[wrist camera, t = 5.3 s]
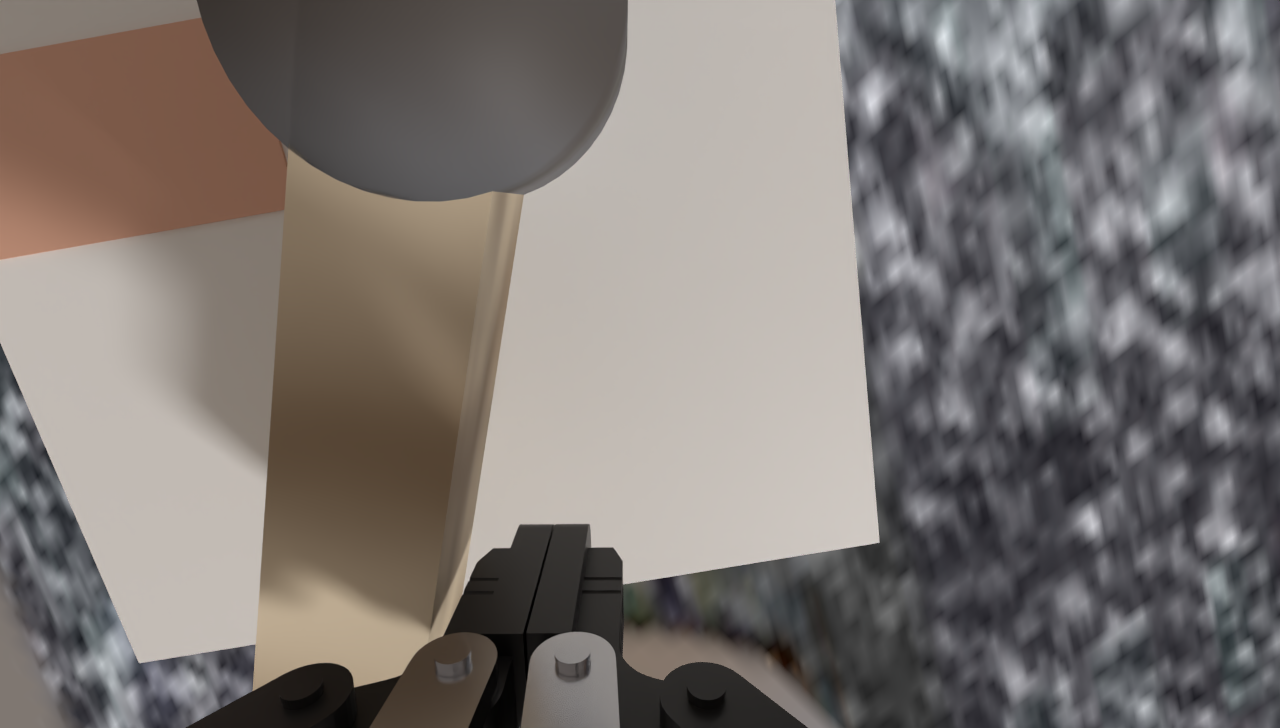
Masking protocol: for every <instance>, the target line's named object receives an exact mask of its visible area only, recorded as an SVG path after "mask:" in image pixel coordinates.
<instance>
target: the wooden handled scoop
mask: <svg viewBox="0 0 1280 728" xmlns="http://www.w3.org/2000/svg"><path fill="white" fill-rule="evenodd" d="M197 4H198V7H199V11H200V15H201V18H202V22H203V24H204V27H205V30H206V32H207V35H208V37H209V40H210V42H211V45H212V47H213V50H214V52H215V54H216V56H217V58H218V60H219V62H220V63H221V65H222V67H223V69H224V71H225V73H226V75H227V77H228V78H229V80H230V82H231V83H232V85H233V86H234V88H235V89H236V90H237V92H238V93H239V95H240V96H241V98H242V99H243V101H244V102H245V104H246V105H247V106H248V107H249V109H250V110H251V111H252V112H253V113H254V114H255V116H256V117H257V118H258V119H259V120H260V121H261V123H262V124H263V125H264V126H265V127H266V128H267V129H268V130H269V131H270V132H271V133H272V134H273V135H274V136H275V137H276V138H277V139H278V140H280V141H281V142H282V143H283V144H284V145H285V146H286V147H287V148H288V162H287V177H286V193H285V208H284V223H283V238H282V254H281V269H280V284H279V299H278V314H277V330H276V345H275V360H274V375H273V391H272V406H271V421H270V436H269V452H268V467H267V482H266V497H265V513H264V528H263V543H262V558H261V573H260V589H259V604H258V619H257V634H256V650H255V665H254V680H253V691H254V690H256V689H258V688H259V687H261V686H263V685H265V684H267V683H269V682H270V681H272V680H274V679H276V678H278V677H279V676H281V675H283V674H285V673H287V672H289V671H291V670H294V669H297V668H299V667H303V666H306V665H310V664H316V663H334V664H339V665H341V666H344V667H345V668H347V669H348V670H349V671H350V672H351V674H352V676H353V682H354V687H358V686H362V685H367V684H371V683H375V682H379V681H383V680H387V679H391V678H394V677H397V676H400V675H402V674H403V672H404V670H405V669H406V667H407V665H408V664H409V662H410V661H411V659H412V658H413V656H414V655H415V653H416V652H417V651H418V650H419V649H421V648H422V647H423V646H425V645H426V644H427V643H429V642H431V641H433V640H435V639H437V638H439V637H442V636H443V635H444V633H445V631H446V629H447V627H448V624H449V622H450V620H451V618H452V616H453V613H454V611H455V609H456V607H457V605H458V603H459V600H460V598H461V596H462V593H463V587H464V580H465V574H466V567H467V561H468V554H469V548H470V541H471V535H472V528H473V522H474V515H475V509H476V502H477V496H478V489H479V483H480V476H481V470H482V463H483V457H484V450H485V444H486V437H487V431H488V424H489V418H490V411H491V405H492V398H493V392H494V385H495V379H496V372H497V366H498V359H499V353H500V346H501V340H502V333H503V327H504V320H505V314H506V308H507V301H508V295H509V288H510V282H511V275H512V269H513V262H514V256H515V249H516V243H517V236H518V230H519V223H520V217H521V210H522V204H523V197H524V195H525V194H527V193H529V192H532V191H534V190H536V189H539V188H541V187H543V186H545V185H546V184H548V183H550V182H551V181H553V180H555V179H556V178H558V177H559V176H561V175H562V174H563V173H564V172H566V171H567V170H568V169H569V168H571V167H572V166H573V165H574V164H575V163H576V162H577V161H578V160H579V159H580V158H581V157H582V156H583V155H584V154H585V153H586V152H587V151H588V150H589V148H590V147H591V146H592V144H593V143H594V141H595V140H596V139H597V137H598V136H599V134H600V133H601V132H602V130H603V128H604V126H605V124H606V122H607V120H608V119H609V117H610V115H611V113H612V110H613V108H614V105H615V103H616V100H617V97H618V95H619V92H620V88H621V84H622V79H623V75H624V71H625V63H626V55H627V31H628V0H197Z"/></svg>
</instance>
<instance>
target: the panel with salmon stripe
mask: <svg viewBox="0 0 1280 728" xmlns="http://www.w3.org/2000/svg"><path fill="white" fill-rule="evenodd" d="M287 162H288V148H287V147H286V146H285V145H284V144H283V143H282V142H281V141H280V140H278V139H277V138H276V137H275V136H274V135H273V134H272V133H271V132H270V131H269V130H268V129H267V128H266V127H265V126H264V125H263V124H262V123H261V121H260V120H259V119H258V118H257V117H256V116H255V114H254V113H253V112H252V111H251V110H250V109H249V107H248V106H247V105H246V104H245V102H244V101H243V99H242V98H241V96H240V95H239V93H238V92H237V90H236V89H235V88H234V86H233V85H232V83H231V82H230V80H229V78H228V77H227V75H226V73H225V71H224V69H223V67H222V65H221V63H220V62H219V60H218V58H217V56H216V54H215V52H214V50H213V47H212V45H211V42H210V40H209V37H208V35H207V32H206V30H205V27H204V24H203V22H202V18H201V15H200V11H199V7H198V4H197V0H0V343H1V346H2V348H3V350H4V352H5V355H6V357H7V359H8V362H9V364H10V366H11V369H12V371H13V373H14V376H15V378H16V380H17V382H18V385H19V387H20V389H21V392H22V394H23V396H24V399H25V401H26V403H27V406H28V408H29V410H30V413H31V415H32V417H33V419H34V422H35V424H36V426H37V429H38V431H39V433H40V436H41V438H42V440H43V443H44V445H45V447H46V449H47V452H48V454H49V456H50V459H51V461H52V463H53V466H54V468H55V470H56V473H57V475H58V477H59V480H60V482H61V484H62V486H63V489H64V491H65V493H66V496H67V498H68V500H69V503H70V505H71V507H72V510H73V512H74V514H75V516H76V519H77V521H78V523H79V526H80V528H81V530H82V533H83V535H84V537H85V540H86V542H87V544H88V547H89V549H90V551H91V553H92V556H93V558H94V560H95V563H96V565H97V567H98V570H99V572H100V574H101V577H102V579H103V581H104V583H105V586H106V588H107V590H108V593H109V595H110V597H111V600H112V602H113V604H114V607H115V609H116V611H117V614H118V616H119V618H120V620H121V623H122V625H123V627H124V630H125V632H126V634H127V637H128V639H129V641H130V644H131V646H132V648H133V650H134V653H135V655H136V657H137V660H138V662H139V663H143V662H150V661H156V660H162V659H168V658H174V657H180V656H186V655H193V654H199V653H205V652H211V651H217V650H223V649H229V648H236V647H242V646H248V645H254V644H256V634H257V619H258V604H259V589H260V573H261V558H262V543H263V528H264V513H265V497H266V482H267V467H268V452H269V436H270V421H271V406H272V391H273V375H274V360H275V345H276V330H277V314H278V299H279V284H280V269H281V254H282V238H283V223H284V208H285V193H286V177H287ZM520 524H554V525H555V524H590V530H591V548H596V547H613V548H614V549H615V550H616V552H617V553H618V555H619V556H620V558H621V559H622V561H623V584H628V583H635V582H641V581H647V580H653V579H659V578H665V577H671V576H677V575H684V574H690V573H696V572H702V571H708V570H714V569H720V568H727V567H733V566H739V565H745V564H751V563H757V562H763V561H770V560H776V559H782V558H788V557H794V556H800V555H806V554H813V553H819V552H825V551H831V550H837V549H843V548H849V547H855V546H862V545H868V544H874V543H879V531H878V519H877V506H876V494H875V482H874V470H873V458H872V445H871V433H870V421H869V409H868V397H867V384H866V372H865V360H864V348H863V336H862V323H861V311H860V299H859V287H858V275H857V262H856V250H855V238H854V226H853V214H852V201H851V189H850V177H849V165H848V153H847V140H846V128H845V116H844V104H843V92H842V80H841V67H840V55H839V43H838V31H837V19H836V6H835V0H628V31H627V55H626V63H625V71H624V75H623V79H622V84H621V88H620V92H619V95H618V97H617V100H616V103H615V105H614V108H613V110H612V113H611V115H610V117H609V119H608V120H607V122H606V124H605V126H604V128H603V130H602V132H601V133H600V134H599V136H598V137H597V139H596V140H595V141H594V143H593V144H592V146H591V147H590V148H589V150H588V151H587V152H586V153H585V154H584V155H583V156H582V157H581V158H580V159H579V160H578V161H577V162H576V163H575V164H574V165H573V166H572V167H571V168H569V169H568V170H567V171H566V172H564V173H563V174H562V175H561V176H559V177H558V178H556V179H555V180H553V181H551V182H550V183H548V184H546V185H545V186H543V187H541V188H539V189H536V190H534V191H532V192H529V193H527V194H525V195H524V197H523V204H522V210H521V217H520V223H519V230H518V236H517V243H516V249H515V256H514V262H513V269H512V275H511V282H510V288H509V295H508V301H507V308H506V314H505V320H504V327H503V333H502V340H501V346H500V353H499V359H498V366H497V372H496V379H495V385H494V392H493V398H492V405H491V411H490V418H489V424H488V431H487V437H486V444H485V450H484V457H483V463H482V470H481V476H480V483H479V489H478V496H477V502H476V509H475V515H474V522H473V528H472V535H471V541H470V548H469V554H468V561H467V567H466V574H465V580H464V587H463V593H462V595H463V594H464V589H465V587H466V585H467V583H468V581H470V576H471V574H472V572H473V570H474V568H475V565H476V563H477V562H478V561H479V560H480V559H481V558H482V557H484V556H485V555H486V554H487V553H488V552H489V551H491V550H492V549H493V548H511V545H512V542H513V540H514V537H515V535H516V532H517V529H518V527H519V525H520Z"/></svg>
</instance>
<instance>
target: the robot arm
mask: <svg viewBox="0 0 1280 728" xmlns="http://www.w3.org/2000/svg"><path fill="white" fill-rule="evenodd" d="M623 628H624V614H623V561H622V559H621V558H620V556H619V555H618V553H617V552H616V550H615V549H614V548H613V547H596V548H591V530H590V524H555V525H554V524H520V525H519V527H518V529H517V532H516V535H515V537H514V540H513V542H512V545H511V548H493V549H492V550H491V551H489V552H488V553H487V554H486V555H485V556H484V557H482V558H481V559H480V560H479V561H478V562H477V563H476V565H475V568H474V570H473V572H472V574H471V576H470V581H468V583H467V585H466V587H465V589H464V594H463V595H462V596H461V598H460V600H459V603H458V605H457V607H456V609H455V611H454V613H453V616H452V618H451V620H450V622H449V624H448V627H447V629H446V631H445V633H444V635H443V636H442V637H439V638H437V639H435V640H433V641H431V642H429V643H427V644H426V645H425V646H423V647H422V648H421V649H419V650H418V651H417V652H416V653H415V655H414V656H413V658H412V659H411V661H410V662H409V664H408V665H407V667H406V669H405V670H404V672H403V674H402V675H400V676H397V677H394V678H391V679H387V680H383V681H379V682H375V683H371V684H367V685H362V686H358V687H354V682H353V676H352V674H351V672H350V671H349V670H348V669H347V668H345V667H344V666H341V665H339V664H334V663H316V664H310V665H306V666H303V667H299V668H297V669H294V670H291V671H289V672H287V673H285V674H283V675H281V676H279V677H278V678H276V679H274V680H272V681H270V682H269V683H267V684H265V685H263V686H261V687H259V688H258V689H256V690H254V691H252V692H250V693H248V694H247V695H245V696H243V697H241V698H239V699H237V700H236V701H234V702H232V703H230V704H228V705H227V706H225V707H223V708H221V709H219V710H217V711H216V712H214V713H212V714H210V715H208V716H206V717H205V718H203V719H201V720H199V721H197V722H195V723H194V724H192V725H190V726H188V727H186V728H807V727H806V726H805V725H804V724H802V723H801V722H800V721H798V720H797V719H796V718H795V717H793V716H792V715H791V714H789V713H788V712H787V711H785V710H784V709H783V708H781V707H780V706H779V705H778V704H776V703H775V702H774V701H772V700H771V699H770V698H769V697H767V696H766V695H764V694H763V693H762V692H761V691H760V690H758V689H757V688H756V687H754V686H753V685H752V684H751V683H749V682H748V681H747V680H745V679H744V678H743V677H741V676H740V675H739V674H737V673H736V672H734V671H733V670H731V669H729V668H727V667H724V666H722V665H719V664H714V663H707V662H696V663H690V664H686V665H683V666H680V667H678V668H676V669H675V670H673V671H672V672H670V673H669V674H668V676H666V678H665V679H664V681H663V680H659V679H655V678H652V677H649V676H646V675H643V674H641V673H639V672H637V671H636V670H634V669H633V668H632V667H630V666H629V665H628V664H627V663H626V661H625V660H624V659H623V657H622V653H623Z"/></svg>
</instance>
